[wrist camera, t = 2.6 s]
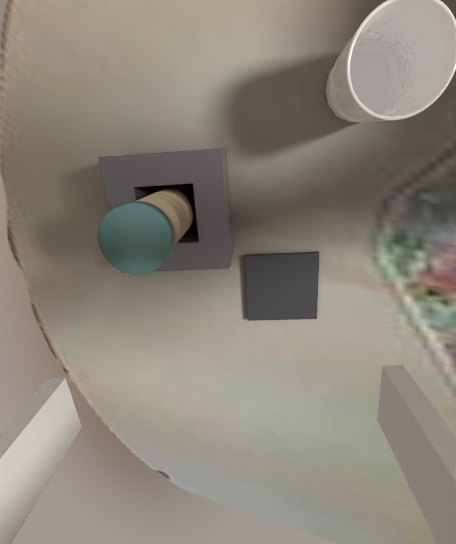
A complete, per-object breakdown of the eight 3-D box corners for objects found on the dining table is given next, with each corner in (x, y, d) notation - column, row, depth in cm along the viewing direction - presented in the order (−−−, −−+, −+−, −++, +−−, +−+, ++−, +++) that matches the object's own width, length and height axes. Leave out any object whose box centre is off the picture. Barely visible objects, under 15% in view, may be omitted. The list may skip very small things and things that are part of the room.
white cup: (384, 134, 34) (435, 127, 24) (311, 122, 34) (334, 111, 24) (410, 46, 31) (480, 1, 21) (330, 34, 31) (365, -16, 22)
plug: (155, 185, 37) (91, 207, 22) (198, 182, 37) (162, 203, 22) (161, 228, 39) (106, 275, 24) (203, 226, 39) (172, 273, 24)
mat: (244, 254, 39) (244, 256, 39) (318, 251, 39) (319, 253, 38) (247, 318, 43) (247, 320, 42) (315, 316, 42) (316, 318, 41)
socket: (122, 156, 36) (98, 157, 31) (225, 148, 35) (221, 148, 30) (139, 255, 40) (121, 272, 35) (232, 251, 39) (229, 268, 34)
